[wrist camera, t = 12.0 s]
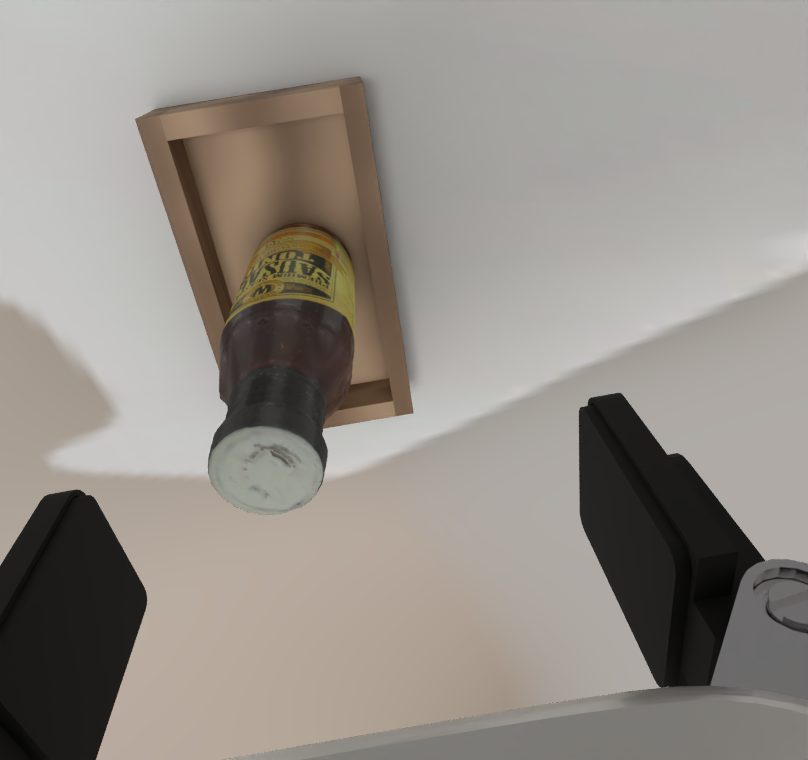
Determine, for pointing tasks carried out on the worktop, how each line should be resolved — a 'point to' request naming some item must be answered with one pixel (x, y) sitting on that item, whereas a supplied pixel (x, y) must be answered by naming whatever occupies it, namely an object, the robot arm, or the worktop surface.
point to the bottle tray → (283, 211)
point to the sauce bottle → (284, 370)
